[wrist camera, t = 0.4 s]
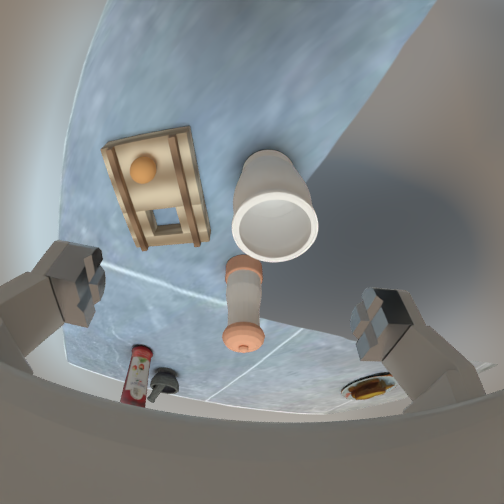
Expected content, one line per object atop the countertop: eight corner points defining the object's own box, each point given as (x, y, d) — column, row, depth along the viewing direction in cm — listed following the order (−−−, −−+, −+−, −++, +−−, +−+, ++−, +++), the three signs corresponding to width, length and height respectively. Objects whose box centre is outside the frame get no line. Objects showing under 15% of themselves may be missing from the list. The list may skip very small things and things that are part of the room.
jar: (309, 187, 48) (329, 247, 37) (253, 209, 51) (255, 272, 40) (285, 132, 42) (301, 178, 30) (223, 158, 44) (214, 213, 33)
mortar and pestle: (171, 364, 91) (167, 397, 82) (185, 375, 97) (182, 406, 88) (144, 366, 93) (139, 397, 84) (159, 377, 99) (155, 406, 90)
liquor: (129, 349, 85) (113, 431, 64) (135, 340, 81) (118, 428, 60) (150, 357, 88) (137, 438, 67) (157, 349, 84) (144, 435, 63)
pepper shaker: (234, 283, 63) (231, 364, 49) (220, 260, 59) (213, 344, 45) (266, 275, 62) (271, 357, 48) (255, 250, 57) (257, 336, 43)
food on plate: (355, 398, 121) (357, 410, 116) (330, 388, 109) (332, 402, 104) (404, 378, 110) (407, 391, 105) (386, 365, 97) (390, 380, 92)
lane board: (107, 142, 41) (97, 152, 38) (190, 125, 41) (184, 135, 37) (140, 237, 55) (134, 251, 51) (210, 230, 54) (208, 245, 51)
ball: (131, 154, 40) (122, 166, 37) (156, 150, 40) (148, 161, 37) (138, 177, 43) (130, 190, 40) (162, 173, 43) (155, 186, 40)
